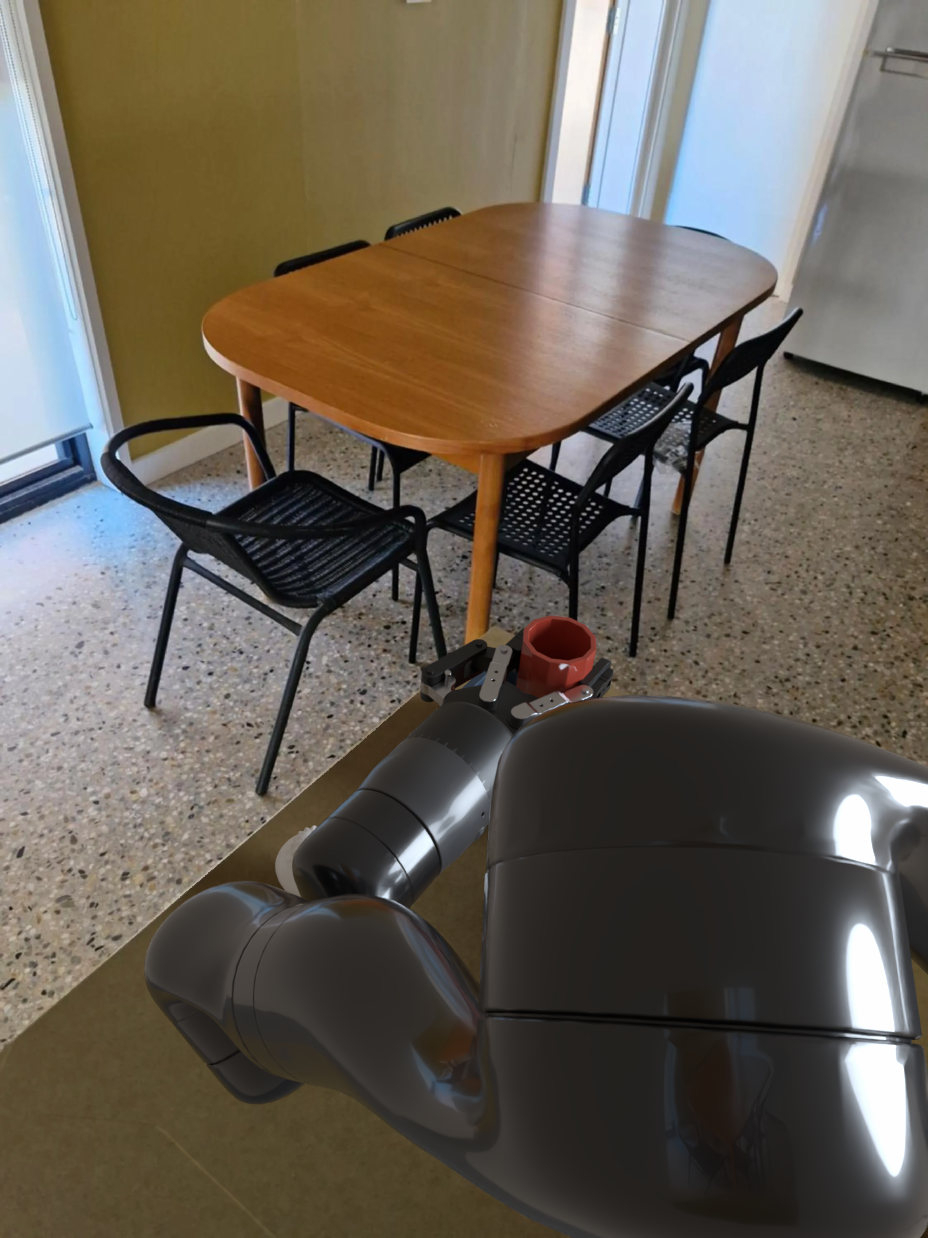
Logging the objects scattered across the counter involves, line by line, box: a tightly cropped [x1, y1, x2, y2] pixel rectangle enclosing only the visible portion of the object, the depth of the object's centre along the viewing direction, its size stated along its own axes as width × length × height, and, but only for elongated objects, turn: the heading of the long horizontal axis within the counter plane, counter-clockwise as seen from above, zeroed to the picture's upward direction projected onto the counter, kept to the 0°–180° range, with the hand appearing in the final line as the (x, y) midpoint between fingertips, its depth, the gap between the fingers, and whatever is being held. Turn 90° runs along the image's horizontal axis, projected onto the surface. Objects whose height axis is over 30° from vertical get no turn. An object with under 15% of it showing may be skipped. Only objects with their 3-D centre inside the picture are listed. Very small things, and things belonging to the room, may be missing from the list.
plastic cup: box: [515, 615, 597, 698], centre depth 66 cm, size 5×5×9 cm
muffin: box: [274, 824, 318, 897], centre depth 69 cm, size 6×6×7 cm
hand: (570, 651), depth 67 cm, fingers closed on plastic cup, 5 cm apart
